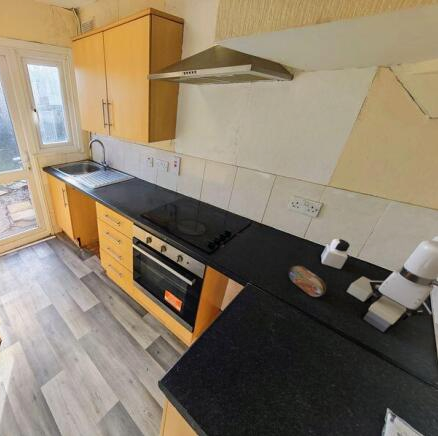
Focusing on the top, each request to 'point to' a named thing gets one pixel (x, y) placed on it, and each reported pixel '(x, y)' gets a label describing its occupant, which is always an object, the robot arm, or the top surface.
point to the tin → (307, 281)
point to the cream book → (387, 309)
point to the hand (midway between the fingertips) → (386, 311)
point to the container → (335, 253)
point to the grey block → (377, 321)
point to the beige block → (361, 289)
